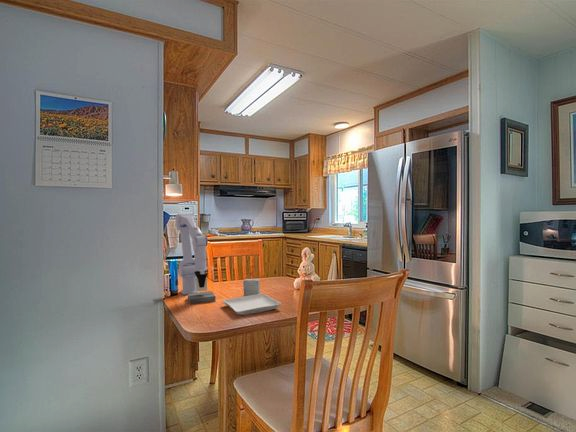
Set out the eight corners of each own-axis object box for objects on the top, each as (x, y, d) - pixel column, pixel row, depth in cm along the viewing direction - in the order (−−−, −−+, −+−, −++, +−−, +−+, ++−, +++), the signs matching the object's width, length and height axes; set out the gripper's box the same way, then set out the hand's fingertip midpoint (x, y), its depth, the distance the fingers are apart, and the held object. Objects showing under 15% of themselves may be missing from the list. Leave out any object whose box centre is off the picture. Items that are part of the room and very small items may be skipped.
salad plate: (236, 319, 132) (236, 311, 132) (222, 306, 151) (222, 299, 151) (282, 311, 142) (282, 303, 142) (263, 299, 161) (263, 293, 161)
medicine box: (260, 295, 169) (259, 278, 169) (258, 297, 165) (258, 280, 165) (245, 295, 170) (245, 278, 170) (243, 297, 166) (243, 280, 165)
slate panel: (188, 299, 166) (187, 293, 166) (211, 296, 170) (211, 291, 170) (190, 305, 155) (190, 299, 155) (215, 302, 159) (215, 296, 159)
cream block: (195, 289, 164) (195, 277, 164) (205, 288, 166) (205, 276, 166) (196, 291, 159) (196, 279, 159) (207, 290, 161) (206, 278, 161)
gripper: (210, 260, 157) (211, 288, 157) (206, 257, 170) (207, 282, 171) (195, 261, 154) (196, 289, 154) (192, 258, 168) (193, 284, 168)
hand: (201, 286), depth 162 cm, fingers closed on cream block, 5 cm apart
